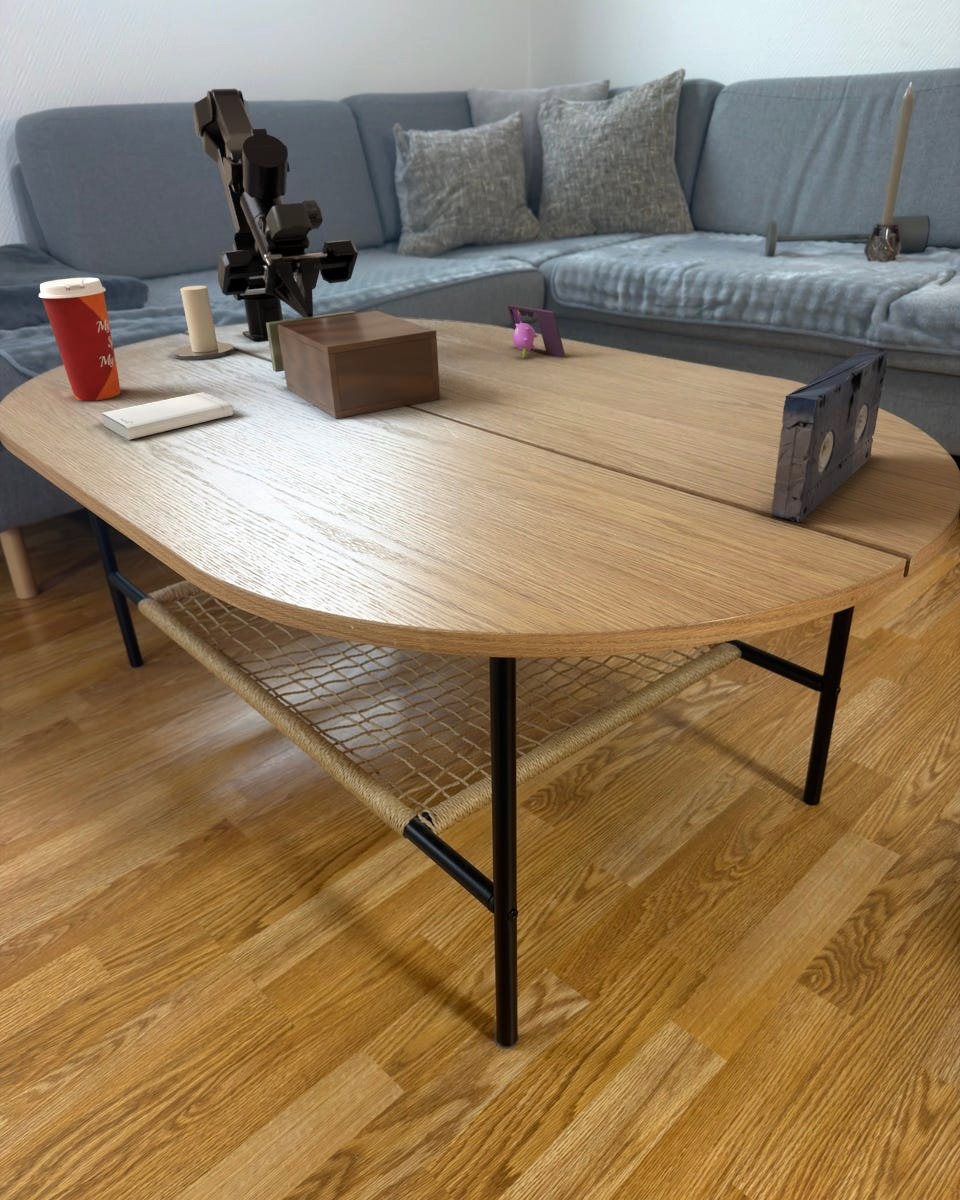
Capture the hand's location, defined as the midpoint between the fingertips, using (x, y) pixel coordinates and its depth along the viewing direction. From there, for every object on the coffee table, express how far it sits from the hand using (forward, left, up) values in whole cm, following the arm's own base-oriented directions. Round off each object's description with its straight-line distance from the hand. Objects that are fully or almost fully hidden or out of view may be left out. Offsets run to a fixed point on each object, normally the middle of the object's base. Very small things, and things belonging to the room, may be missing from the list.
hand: (309, 317), depth 117 cm
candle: (-21, -10, -7) cm, 24 cm away
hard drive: (+12, -23, -7) cm, 27 cm away
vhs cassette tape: (+69, +21, -7) cm, 73 cm away
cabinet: (+15, 0, -7) cm, 17 cm away
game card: (+11, +28, -7) cm, 31 cm away
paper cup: (-6, -28, -7) cm, 29 cm away
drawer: (+6, 0, -6) cm, 8 cm away
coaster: (-22, -10, -7) cm, 25 cm away
